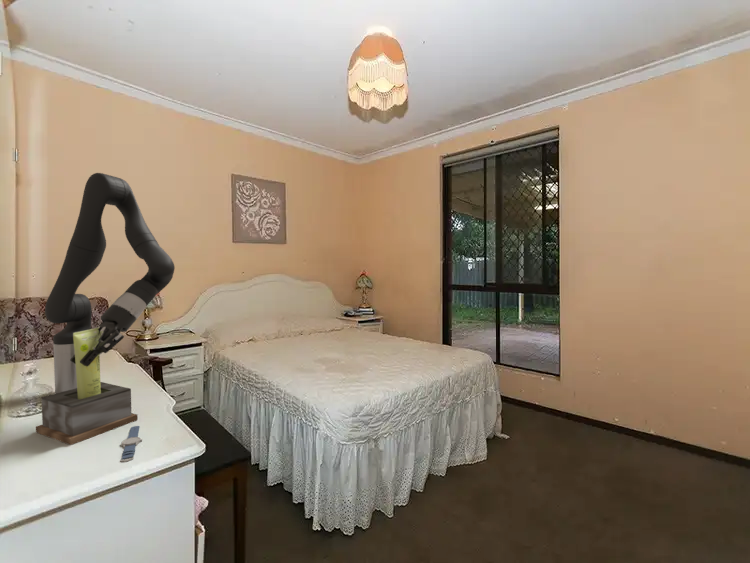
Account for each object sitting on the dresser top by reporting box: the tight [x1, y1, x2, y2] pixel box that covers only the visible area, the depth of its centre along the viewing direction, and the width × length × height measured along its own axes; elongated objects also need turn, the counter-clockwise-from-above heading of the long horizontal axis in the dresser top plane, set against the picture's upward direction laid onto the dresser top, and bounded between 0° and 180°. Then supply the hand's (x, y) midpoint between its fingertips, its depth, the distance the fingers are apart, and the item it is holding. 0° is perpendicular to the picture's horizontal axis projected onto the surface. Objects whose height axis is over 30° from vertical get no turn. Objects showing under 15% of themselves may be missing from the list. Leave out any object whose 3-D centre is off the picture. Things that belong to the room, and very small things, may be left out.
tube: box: [73, 326, 101, 400], centre depth 99 cm, size 6×5×20 cm
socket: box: [35, 381, 139, 446], centre depth 99 cm, size 16×16×9 cm
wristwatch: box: [119, 425, 143, 463], centre depth 90 cm, size 4×20×1 cm, turn 28°
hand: (78, 363), depth 97 cm, fingers closed on tube, 4 cm apart
